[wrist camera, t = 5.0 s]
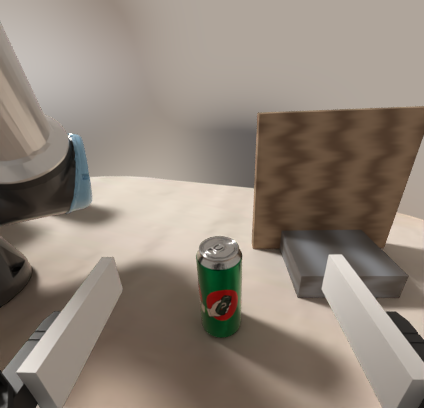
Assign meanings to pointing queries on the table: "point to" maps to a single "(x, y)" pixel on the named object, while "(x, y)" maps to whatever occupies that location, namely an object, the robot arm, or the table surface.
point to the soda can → (220, 285)
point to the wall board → (334, 190)
